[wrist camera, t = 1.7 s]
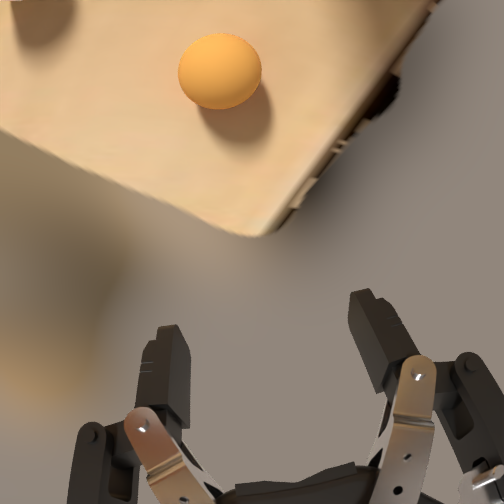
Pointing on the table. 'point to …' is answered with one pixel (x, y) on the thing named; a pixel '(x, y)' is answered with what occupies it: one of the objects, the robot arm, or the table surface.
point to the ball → (219, 71)
